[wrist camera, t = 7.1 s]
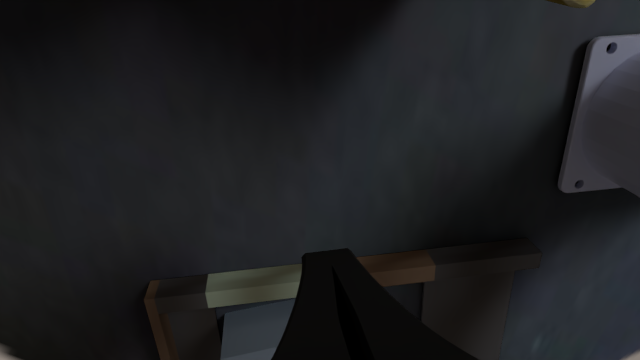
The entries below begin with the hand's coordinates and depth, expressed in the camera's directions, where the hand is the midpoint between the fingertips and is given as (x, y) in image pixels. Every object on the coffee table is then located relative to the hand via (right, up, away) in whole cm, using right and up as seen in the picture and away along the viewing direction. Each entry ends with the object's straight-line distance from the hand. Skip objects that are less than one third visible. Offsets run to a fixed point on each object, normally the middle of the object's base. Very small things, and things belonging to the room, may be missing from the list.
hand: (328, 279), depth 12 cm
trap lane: (+2, -6, +14) cm, 15 cm away
